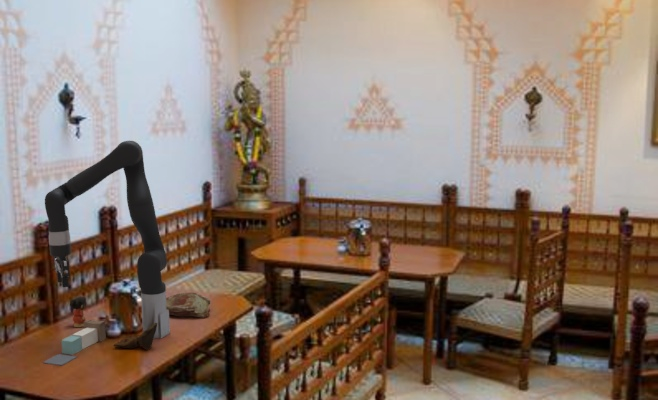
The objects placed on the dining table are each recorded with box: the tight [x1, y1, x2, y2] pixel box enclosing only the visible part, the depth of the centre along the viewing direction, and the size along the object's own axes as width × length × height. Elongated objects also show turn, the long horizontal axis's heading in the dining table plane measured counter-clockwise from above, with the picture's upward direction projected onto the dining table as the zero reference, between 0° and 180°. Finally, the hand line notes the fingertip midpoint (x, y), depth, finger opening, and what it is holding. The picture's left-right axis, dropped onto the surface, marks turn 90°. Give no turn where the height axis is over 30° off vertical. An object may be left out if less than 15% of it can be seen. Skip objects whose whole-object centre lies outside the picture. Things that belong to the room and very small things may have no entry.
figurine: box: [69, 295, 87, 328], centre depth 287 cm, size 6×6×12 cm
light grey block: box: [70, 319, 107, 350], centre depth 268 cm, size 7×12×7 cm, turn 161°
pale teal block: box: [61, 335, 83, 356], centre depth 260 cm, size 4×5×5 cm
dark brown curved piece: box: [113, 323, 157, 351], centre depth 263 cm, size 8×10×15 cm
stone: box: [166, 291, 211, 318], centre depth 303 cm, size 24×18×6 cm
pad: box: [42, 353, 78, 366], centre depth 252 cm, size 8×8×1 cm
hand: (63, 284), depth 271 cm, fingers open, 8 cm apart
